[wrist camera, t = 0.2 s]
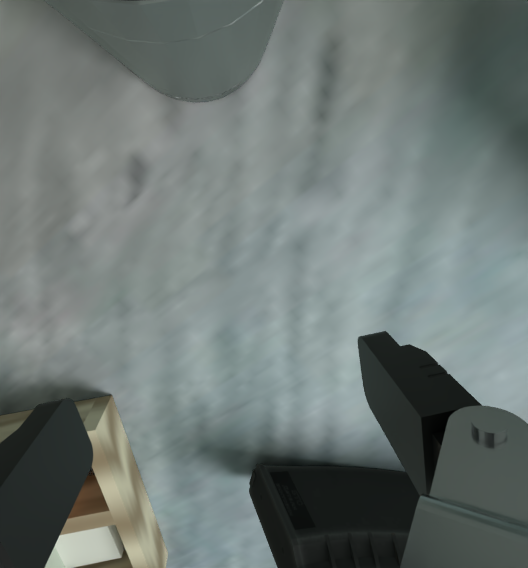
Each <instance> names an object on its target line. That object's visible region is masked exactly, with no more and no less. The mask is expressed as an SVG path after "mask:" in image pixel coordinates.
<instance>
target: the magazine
mask: <svg viewBox="0 0 528 568" xmlns="http://www.w3.org/2000/svg"><path fill="white" fill-rule="evenodd" d="M249 484H250V489H249V493H250V496H251V499H252V501H253V504H254V507H255V509H256V512H257V515H258V517H259V520H260V523H261V525H262V528H263V530H264V533H265V536H266V538H267V541H268V544H269V546H270V549H271V552H272V554H273V557H274V559H275V562H276V565H277V567H278V568H400V566H401V562H402V558H403V555H404V551H405V547H406V544H407V540H408V536H409V533H410V529H411V525H412V521H413V518H414V514H415V510H416V507H417V503H418V501H419V498H420V495H419V493H418V492H417V490H416V488H415V486H414V485H413V483H412V481H411V479H410V477H409V476H408V474H407V472H400V471H391V470H382V469H372V468H359V467H338V466H264V465H263V464H257V465H256V468H255V469H254V470H253V472H252V476H251V479H250V483H249Z"/></svg>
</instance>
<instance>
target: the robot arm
mask: <svg viewBox="0 0 528 568" xmlns="http://www.w3.org/2000/svg"><path fill="white" fill-rule="evenodd" d="M44 1H45V2H47V3H48V4H49V5H50V6H52V7H53V8H55V9H56V10H57V11H58V12H60V13H61V14H62V15H63V16H65V17H66V18H67V19H68V20H69V21H71V22H72V23H73V24H74V25H76V26H77V27H78V28H79V29H81V30H82V31H83V32H84V33H85V34H87V35H88V36H89V37H90V38H92V39H93V40H94V41H95V42H97V43H98V44H99V45H100V46H102V47H103V48H104V49H105V50H106V51H108V52H109V53H110V54H111V55H113V56H114V57H115V58H116V59H118V60H119V61H120V62H121V63H122V64H124V65H125V66H126V67H127V68H129V69H130V70H131V71H132V72H133V73H135V74H136V75H137V76H138V77H140V78H141V79H142V80H143V81H145V82H146V83H147V84H149V85H150V86H151V87H153V88H154V89H156V90H157V91H159V92H160V93H162V94H164V95H167V96H169V97H172V98H174V99H176V100H182V101H187V102H209V101H212V100H216V99H219V98H223V97H225V96H226V95H228V94H230V93H232V92H233V91H235V90H237V89H238V88H239V87H240V86H241V85H242V84H243V83H245V82H246V81H247V80H248V79H249V78H250V76H251V75H252V73H253V72H254V70H255V69H256V68H257V66H258V65H259V62H260V60H261V58H262V56H263V53H264V51H265V49H266V46H267V43H268V41H269V38H270V36H271V33H272V31H273V28H274V25H275V23H276V20H277V17H278V15H279V12H280V9H281V6H282V4H283V1H284V0H44ZM358 349H359V357H360V365H361V372H362V380H363V387H364V392H365V396H366V399H367V402H368V404H369V406H370V409H371V410H372V412H373V414H374V416H375V417H376V419H377V421H378V423H379V424H380V426H381V428H382V430H383V432H384V433H385V435H386V437H387V439H388V440H389V442H390V444H391V446H392V447H393V449H394V451H395V453H396V455H397V456H398V458H399V460H400V462H401V463H402V465H403V467H404V469H405V470H406V472H407V474H408V476H409V477H410V479H411V481H412V483H413V485H414V486H415V488H416V490H417V492H418V493H419V495H420V498H419V501H418V503H417V507H416V510H415V514H414V518H413V521H412V525H411V529H410V533H409V536H408V540H407V544H406V547H405V551H404V555H403V558H402V562H401V566H400V568H528V424H527V423H526V422H525V421H524V420H522V419H521V418H520V417H518V416H516V415H515V414H513V413H510V412H508V411H506V410H503V409H499V408H495V407H490V406H482V405H481V404H480V403H479V402H478V401H477V400H476V399H475V398H474V397H473V396H472V395H471V394H469V393H468V392H467V391H466V390H465V389H464V388H463V387H462V386H461V385H460V384H459V383H458V382H457V381H456V380H455V379H454V378H453V377H452V376H451V375H450V374H447V371H446V370H445V369H444V368H443V367H442V366H440V365H438V363H437V362H436V361H435V360H434V359H433V358H432V357H431V356H430V355H429V354H428V353H427V352H426V351H423V350H421V349H419V348H416V347H414V346H412V345H410V344H409V345H404V346H399V345H398V344H397V342H396V341H395V340H394V339H393V338H392V337H391V336H390V335H389V334H388V333H387V332H386V331H383V332H379V333H374V334H369V335H365V336H360V337H359V338H358ZM92 463H93V447H92V443H91V441H90V438H89V436H88V433H87V431H86V429H85V426H84V424H83V421H82V419H81V417H80V414H79V412H78V409H77V407H76V405H75V403H74V402H73V401H72V400H71V399H69V398H66V399H61V400H57V401H52V402H47V403H43V404H39V405H38V406H36V408H35V409H34V410H33V411H32V412H31V414H30V415H29V416H28V417H27V419H26V420H25V421H24V422H23V424H22V425H21V426H20V427H19V428H18V429H17V430H16V431H15V432H13V433H12V434H11V435H10V436H8V437H7V438H6V439H5V440H3V441H2V442H1V443H0V568H45V566H46V564H47V562H48V559H49V557H50V555H51V553H52V551H53V549H54V546H55V544H56V542H57V540H58V538H59V536H60V534H61V531H62V529H63V527H64V525H65V523H66V521H67V519H68V516H69V514H70V512H71V510H72V508H73V506H74V504H75V501H76V499H77V497H78V495H79V493H80V491H81V489H82V486H83V484H84V482H85V480H86V478H87V476H88V474H89V471H90V469H91V467H92Z"/></svg>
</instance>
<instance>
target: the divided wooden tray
mask: <svg viewBox="0 0 528 568" xmlns="http://www.w3.org/2000/svg"><path fill="white" fill-rule="evenodd" d="M74 403H75V405H76V407H77V409H78V412H79V414H80V417H81V419H82V421H83V424H84V426H85V429H86V431H87V433H88V436H89V438H90V441H91V443H92V447H93V463H92V468H93V471H94V473H95V475H90V476H87V478H86V480H85V482H84V484H83V486H82V489H81V491H80V493H79V495H78V497H77V499H76V501H75V504H74V506H73V508H72V510H71V512H70V514H69V516H68V519H67V521H66V523H65V525H64V527H63V529H62V531H61V534H60V535H64V534H69V533H74V532H80V531H85V530H90V529H95V528H100V527H105V526H111V525H116V527H117V530H118V532H119V534H120V537H121V539H122V542H123V544H124V547H125V549H126V550H123V554H122V557H121V558H117V559H112V560H108V561H103V562H98V563H93V564H88V565H83V566H79V567H74V568H166V562H167V555H168V552H167V549H166V547H165V544H164V541H163V538H162V535H161V532H160V530H159V527H158V524H157V521H156V518H155V515H154V513H153V510H152V507H151V504H150V501H149V498H148V496H147V493H146V490H145V487H144V484H143V482H142V479H141V476H140V473H139V470H138V467H137V465H136V462H135V459H134V456H133V453H132V450H131V448H130V445H129V442H128V439H127V436H126V433H125V431H124V428H123V425H122V422H121V419H120V416H119V414H118V411H117V408H116V405H115V402H114V400H113V397H112V395H109V396H104V397H99V398H93V399H88V400H82V401H77V402H74ZM33 410H34V409H33ZM33 410H28V411H22V412H17V413H11V414H6V415H1V416H0V443H1V442H2V441H3V440H5V439H6V438H7V437H8V436H10V435H11V434H12V433H13V432H15V431H16V430H17V429H18V428H19V427H20V426H21V425H22V424H23V422H24V421H25V420H26V419H27V417H28V416H29V415H30V414H31V412H32V411H33Z"/></svg>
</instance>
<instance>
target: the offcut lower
mask: <svg viewBox="0 0 528 568" xmlns="http://www.w3.org/2000/svg"><path fill="white" fill-rule="evenodd" d="M55 548H56V550H57V552H58V554H59V556H60V557H61V559H62V561H63V563H64V565H65V567H66V568H74V567H79V566H83V565H88V564H93V563H98V562H103V561H108V560H112V559H117V558H121V557H122V554H123V550H124V544H123V542H122V539H121V537H120V534H119V532H118V530H117V527H116V525H111V526H105V527H100V528H95V529H90V530H85V531H80V532H74V533H69V534H64V535H60V536H59V538H58V540H57V542H56V544H55Z"/></svg>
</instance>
